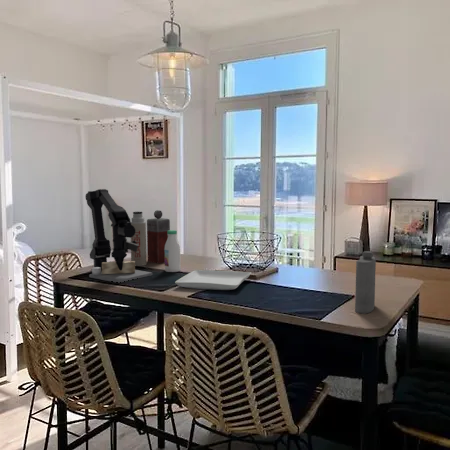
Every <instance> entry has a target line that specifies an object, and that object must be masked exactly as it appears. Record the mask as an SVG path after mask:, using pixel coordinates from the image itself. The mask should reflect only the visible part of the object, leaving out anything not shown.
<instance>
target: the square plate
mask: <svg viewBox="0 0 450 450" xmlns="http://www.w3.org/2000/svg"><path fill="white" fill-rule="evenodd" d="M251 274H252V272H250V271H237V270H235V271H233V270H219V269H218V270H215V269H211V270H210V269H209V270H208V269H203V270H202V269H195V270H193V271H191V272H189V273H187V274H185V275H184V276H181V278H178V279H177V280H176V281H175V282H174V283H175V284H176V285H177V286H179V287H180V288H181V287H182V288H190V289H200V290H201V289H202V290H216V291H230V290H231V291H232V290H236V289H237V288H238V287H239V286H240V285H241V284H242V283H243V282H244V281H245V280H247V279H248V278H249V277H250V275H251Z"/></svg>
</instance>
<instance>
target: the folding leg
mask: <svg viewBox="0 0 450 450" xmlns="http://www.w3.org/2000/svg"><path fill="white" fill-rule="evenodd" d="M135 270H136V266H135V261H131V260H129V261H125V260H124V261H123V268H122V270H119V268H118V266H117V264H116V262H115V261H111V262H110V261H107V262H102V271H101V272H102V274H117V273H135Z"/></svg>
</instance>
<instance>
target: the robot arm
mask: <svg viewBox="0 0 450 450" xmlns="http://www.w3.org/2000/svg"><path fill="white" fill-rule="evenodd" d="M85 200H86V204H87V206H88V208H89V209H90V210H91V216H92V225H93V232H94V240H93V242H92V248H91V250H90V253H89V259H91V260H93V268H94V267H101V272H102V262H108V260H107V258H108V259H109V258H113V259H114V262H116V264H117V266H118V268H119V270H122V268H123V261H125V258H126V257H127V256H128V254H127V253H129V250H130V251H131V250H132V251H134V252H137V249H138V244H136V241H132V242H131V241H128V240H127V239H128V238H130V239H131V237H133V236H134V235H135V228H134V226H132V225H131V222H132V220H131V217H130V216H129V214H128V212H127V210H126V209H125V208H124V207H122V206H121V205H118V204H117V203H116V201H115V200H114V199H113V196H111V194H110V193H109V190H108V189H106V188H99V189H96V190H93V191H92V190H90V191H87V193H86V194H85ZM103 206H104V207H105V208H106V210H107V212H108V214H107V216H108V218H109V220H110V221H111V223H110V227H111V228H112V245H113V248H111V241H110V239H107V238H106V232H105V225H104V220H103V219H104V218H103V209H102V208H103ZM91 271H92V268H91Z"/></svg>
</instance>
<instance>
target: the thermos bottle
mask: <svg viewBox="0 0 450 450" xmlns="http://www.w3.org/2000/svg"><path fill="white" fill-rule="evenodd" d="M131 225H132V226H134V228H135V235H134V236H133V237H131V238H130V242H132V241H136V244H138V249H137V252H134V251H132V250H130V261H135V267H136V266H137V267H138V266H139V267H141V266H142V267H143V266H146V265H147V221H145V217H143V211H132V217H131Z"/></svg>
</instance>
